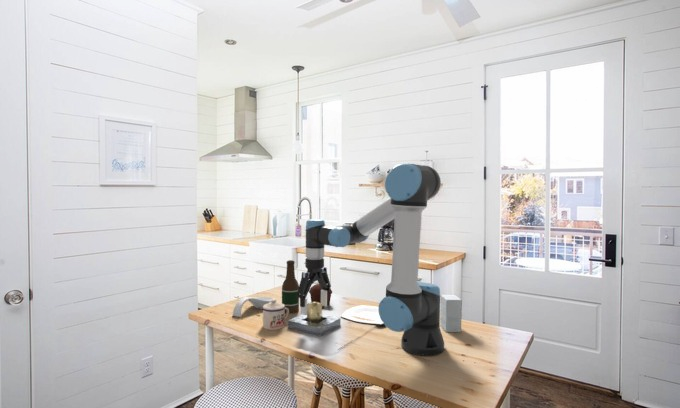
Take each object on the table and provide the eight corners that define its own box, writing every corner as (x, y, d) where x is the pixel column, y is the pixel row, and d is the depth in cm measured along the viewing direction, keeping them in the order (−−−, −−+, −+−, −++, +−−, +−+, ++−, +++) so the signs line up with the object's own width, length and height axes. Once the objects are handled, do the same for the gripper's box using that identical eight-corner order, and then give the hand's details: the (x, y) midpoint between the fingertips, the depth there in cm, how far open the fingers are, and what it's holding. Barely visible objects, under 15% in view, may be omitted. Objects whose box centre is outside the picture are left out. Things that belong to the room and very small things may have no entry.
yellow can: (324, 325, 155) (324, 301, 154) (316, 330, 150) (316, 305, 149) (312, 322, 158) (313, 299, 158) (304, 327, 153) (304, 303, 153)
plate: (383, 331, 153) (383, 326, 153) (334, 321, 164) (334, 316, 164) (403, 315, 173) (403, 311, 173) (358, 307, 184) (358, 303, 184)
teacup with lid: (271, 334, 148) (271, 304, 148) (257, 328, 154) (257, 299, 154) (295, 326, 157) (295, 298, 156) (281, 320, 163) (281, 294, 163)
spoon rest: (261, 302, 191) (261, 287, 191) (280, 305, 186) (280, 290, 186) (226, 315, 170) (226, 299, 170) (247, 319, 165) (247, 303, 165)
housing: (340, 327, 155) (340, 317, 155) (320, 338, 144) (320, 328, 144) (309, 320, 164) (309, 311, 164) (287, 330, 152) (287, 320, 152)
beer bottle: (302, 312, 175) (302, 260, 174) (291, 316, 168) (291, 263, 167) (289, 309, 179) (289, 258, 178) (278, 313, 172) (278, 261, 172)
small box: (461, 332, 151) (462, 299, 151) (445, 332, 151) (446, 300, 151) (454, 325, 159) (455, 294, 159) (439, 325, 159) (440, 294, 159)
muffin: (336, 304, 188) (336, 283, 188) (324, 309, 179) (324, 288, 178) (317, 300, 194) (317, 280, 194) (303, 305, 185) (304, 285, 185)
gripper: (324, 252, 165) (324, 300, 166) (287, 261, 144) (286, 316, 145) (339, 254, 161) (338, 303, 162) (302, 263, 140) (302, 320, 141)
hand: (314, 310), depth 154 cm, fingers open, 13 cm apart
